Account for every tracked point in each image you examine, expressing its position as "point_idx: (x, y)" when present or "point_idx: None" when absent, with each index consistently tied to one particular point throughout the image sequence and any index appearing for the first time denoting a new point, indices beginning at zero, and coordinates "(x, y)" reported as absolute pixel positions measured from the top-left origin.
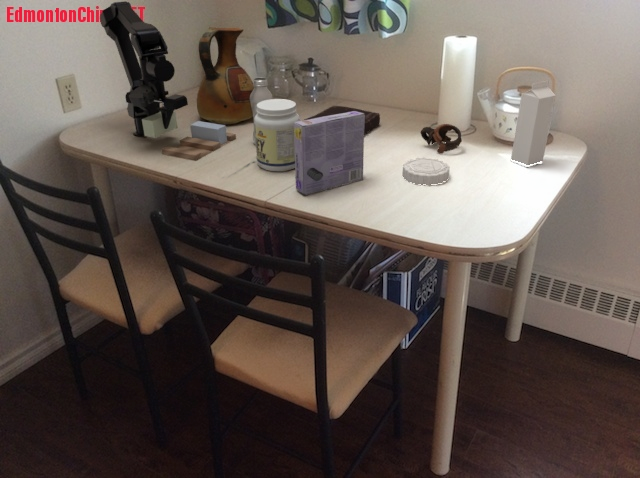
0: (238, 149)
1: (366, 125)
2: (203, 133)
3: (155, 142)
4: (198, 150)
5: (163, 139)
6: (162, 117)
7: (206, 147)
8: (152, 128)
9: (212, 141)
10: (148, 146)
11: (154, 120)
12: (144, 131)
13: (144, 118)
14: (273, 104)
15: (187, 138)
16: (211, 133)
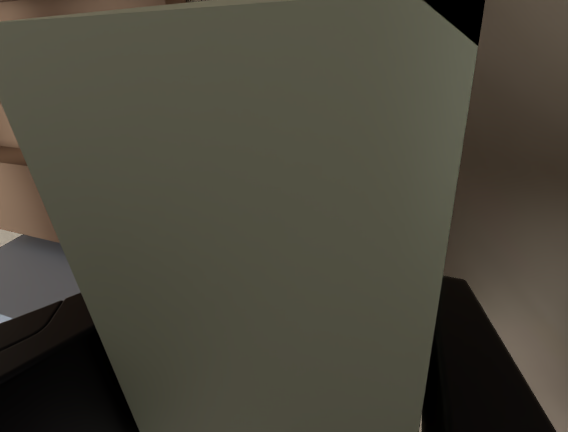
0: (6, 236)
1: None
2: (59, 285)
3: (526, 212)
4: None
5: (488, 294)
6: (72, 333)
7: (1, 154)
8: (173, 4)
9: (18, 227)
10: (539, 81)
11: (15, 120)
12: None
13: (432, 171)
14: None
15: None
16: (1, 277)
